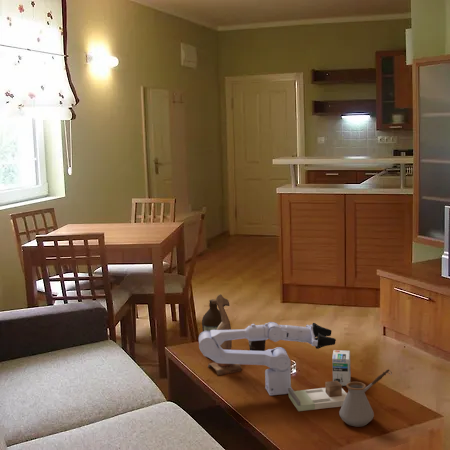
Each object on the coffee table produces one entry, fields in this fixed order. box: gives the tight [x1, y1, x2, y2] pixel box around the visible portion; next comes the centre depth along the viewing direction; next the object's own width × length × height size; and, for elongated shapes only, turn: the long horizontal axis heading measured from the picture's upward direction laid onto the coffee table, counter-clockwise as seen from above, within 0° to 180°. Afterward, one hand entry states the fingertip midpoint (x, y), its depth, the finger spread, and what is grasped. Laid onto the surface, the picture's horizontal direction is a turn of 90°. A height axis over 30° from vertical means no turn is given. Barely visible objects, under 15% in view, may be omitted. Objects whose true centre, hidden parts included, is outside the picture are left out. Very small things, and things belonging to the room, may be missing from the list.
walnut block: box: [324, 380, 343, 397], centre depth 245 cm, size 5×5×4 cm
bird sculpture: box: [207, 294, 242, 376], centre depth 278 cm, size 11×12×32 cm
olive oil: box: [201, 298, 222, 359], centre depth 296 cm, size 11×11×25 cm
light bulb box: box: [331, 349, 352, 387], centre depth 262 cm, size 11×7×11 cm, turn 168°
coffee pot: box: [338, 368, 393, 428], centre depth 229 cm, size 21×12×15 cm, turn 121°
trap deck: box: [288, 387, 348, 412], centre depth 245 cm, size 20×13×4 cm, turn 100°
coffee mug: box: [247, 339, 267, 351], centre depth 300 cm, size 12×9×10 cm
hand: (333, 337), depth 254 cm, fingers open, 7 cm apart
